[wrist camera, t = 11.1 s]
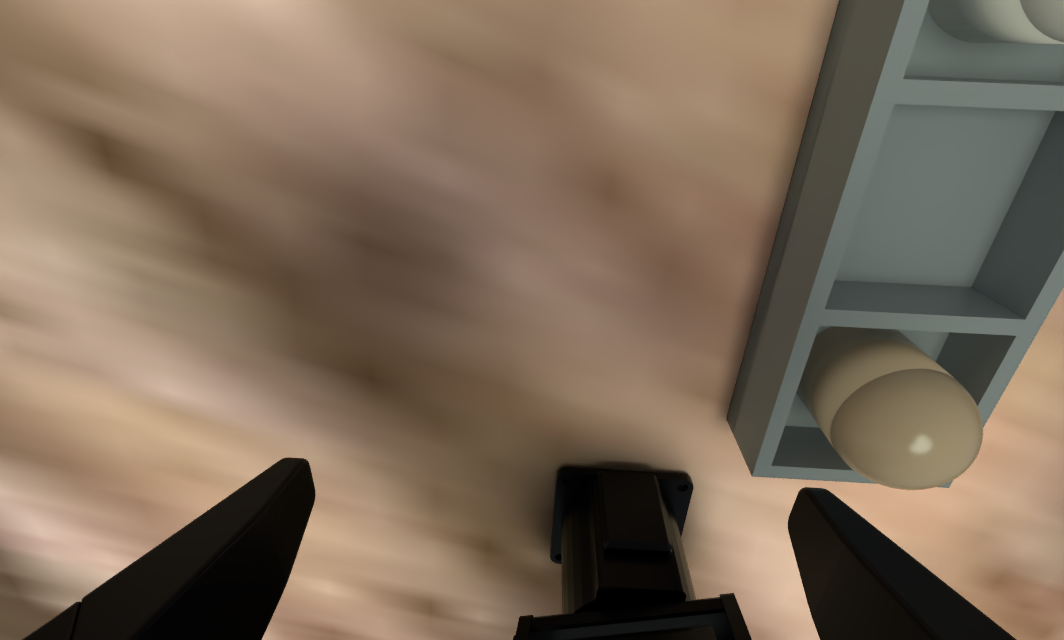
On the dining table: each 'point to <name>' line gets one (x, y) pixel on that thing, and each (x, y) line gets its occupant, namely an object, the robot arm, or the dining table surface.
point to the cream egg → (1001, 20)
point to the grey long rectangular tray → (909, 220)
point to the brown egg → (890, 408)
